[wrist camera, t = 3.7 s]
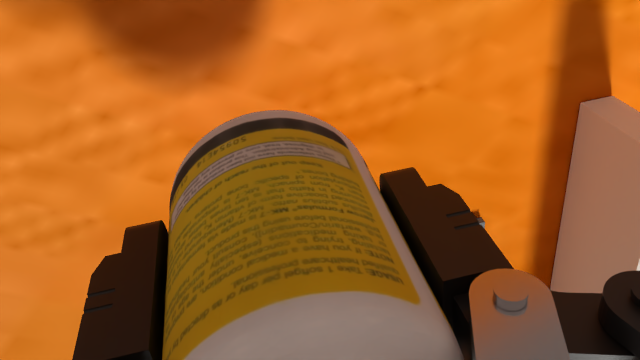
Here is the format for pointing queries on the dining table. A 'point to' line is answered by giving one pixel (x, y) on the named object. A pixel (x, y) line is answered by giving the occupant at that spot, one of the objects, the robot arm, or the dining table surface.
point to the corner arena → (600, 199)
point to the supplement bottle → (291, 253)
